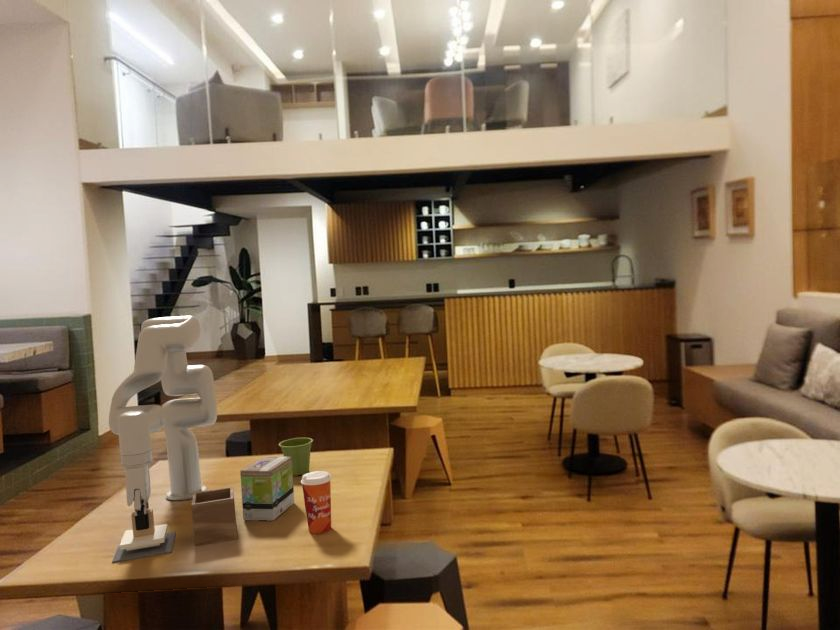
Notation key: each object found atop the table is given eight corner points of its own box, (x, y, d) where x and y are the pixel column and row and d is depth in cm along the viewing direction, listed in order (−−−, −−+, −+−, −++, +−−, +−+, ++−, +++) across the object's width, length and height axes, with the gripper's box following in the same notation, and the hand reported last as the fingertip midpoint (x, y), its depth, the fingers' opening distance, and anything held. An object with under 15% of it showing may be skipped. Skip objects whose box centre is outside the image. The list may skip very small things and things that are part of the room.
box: (196, 531, 181) (193, 492, 180) (236, 524, 184) (233, 486, 183) (195, 546, 171) (191, 504, 170) (237, 538, 174) (233, 498, 173)
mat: (120, 542, 177) (120, 540, 177) (175, 533, 181) (175, 531, 181) (112, 563, 163) (112, 561, 163) (171, 552, 167) (171, 551, 167)
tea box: (275, 521, 185) (270, 470, 184) (242, 521, 187) (238, 470, 186) (295, 502, 199) (291, 455, 198) (265, 502, 201) (261, 455, 200)
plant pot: (288, 468, 236) (285, 438, 236) (319, 467, 235) (317, 437, 234) (276, 479, 225) (273, 446, 224) (309, 478, 223) (306, 445, 222)
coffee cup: (310, 538, 171) (305, 481, 170) (300, 528, 178) (296, 474, 177) (340, 530, 174) (335, 475, 174) (329, 521, 182) (325, 468, 181)
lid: (126, 538, 176) (123, 508, 175) (168, 531, 179) (165, 502, 178) (120, 553, 165) (117, 522, 165) (164, 546, 168) (161, 515, 168)
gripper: (125, 453, 177) (132, 519, 178) (116, 468, 162) (123, 541, 163) (155, 449, 179) (161, 514, 181) (148, 464, 164) (155, 535, 165)
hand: (143, 526), depth 172 cm, fingers closed on lid
